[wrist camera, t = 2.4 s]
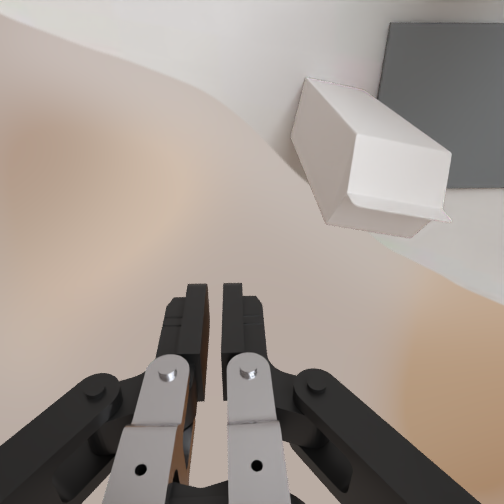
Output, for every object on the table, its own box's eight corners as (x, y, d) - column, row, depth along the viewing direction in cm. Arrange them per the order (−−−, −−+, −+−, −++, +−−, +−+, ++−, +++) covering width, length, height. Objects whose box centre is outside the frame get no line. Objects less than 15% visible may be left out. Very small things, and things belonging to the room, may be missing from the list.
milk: (305, 76, 38) (372, 148, 20) (364, 89, 39) (483, 170, 20) (289, 138, 41) (334, 251, 23) (344, 149, 42) (431, 266, 24)
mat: (390, 22, 36) (392, 23, 35) (614, 24, 37) (618, 24, 36) (362, 187, 45) (363, 189, 44) (543, 185, 45) (546, 187, 45)
